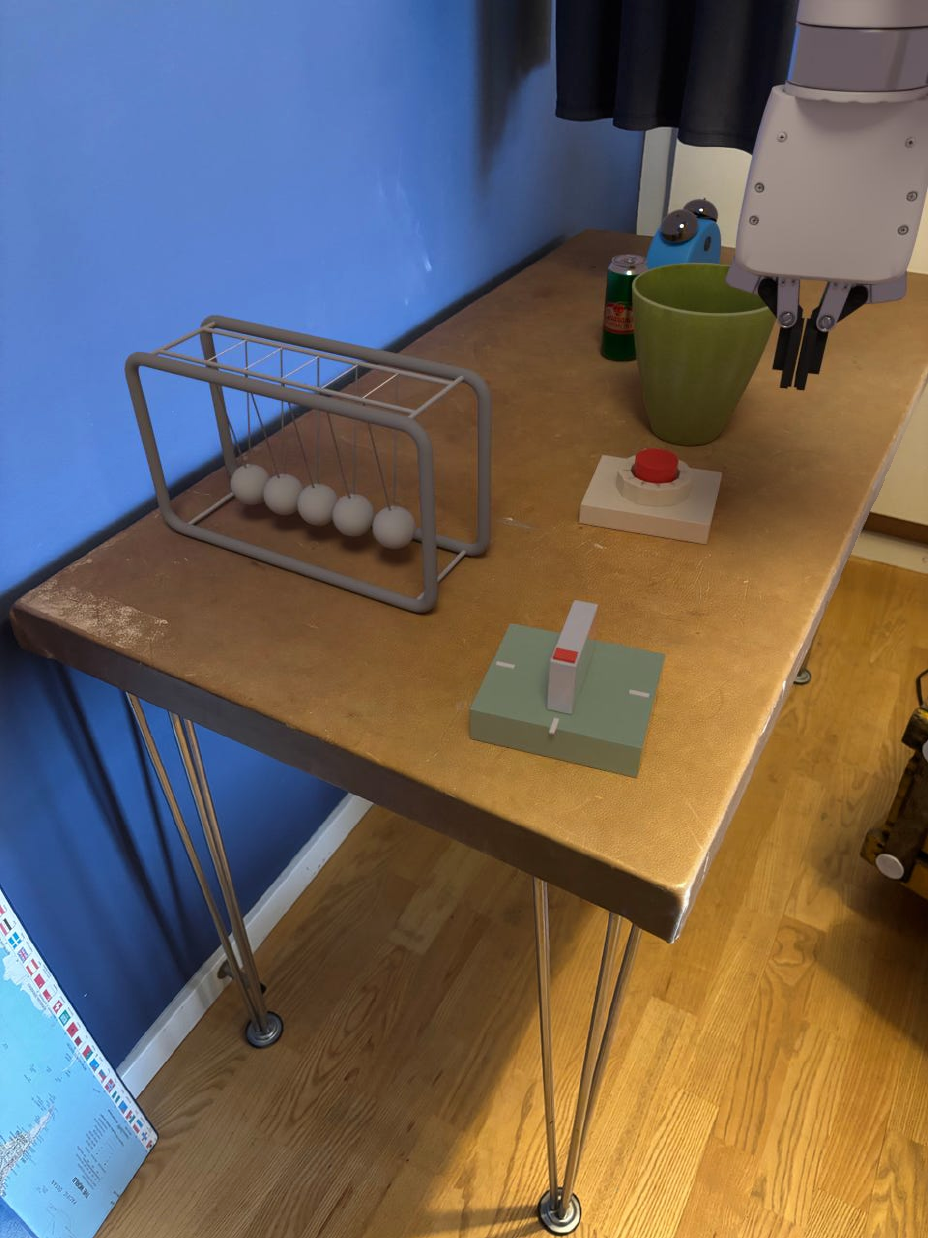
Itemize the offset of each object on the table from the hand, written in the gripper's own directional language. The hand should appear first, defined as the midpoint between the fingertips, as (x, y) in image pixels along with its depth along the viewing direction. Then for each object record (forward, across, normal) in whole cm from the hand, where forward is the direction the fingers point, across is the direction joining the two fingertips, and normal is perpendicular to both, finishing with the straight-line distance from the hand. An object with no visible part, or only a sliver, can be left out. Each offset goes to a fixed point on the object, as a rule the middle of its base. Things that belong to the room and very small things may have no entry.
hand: (793, 380), depth 61 cm
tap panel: (+21, +11, +13) cm, 28 cm away
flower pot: (+21, +9, -34) cm, 41 cm away
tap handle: (+18, +11, +13) cm, 25 cm away
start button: (+18, +10, -17) cm, 26 cm away
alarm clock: (+21, +16, -68) cm, 72 cm away
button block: (+21, +10, -17) cm, 29 cm away
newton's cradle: (+21, +38, -1) cm, 43 cm away
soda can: (+21, +20, -53) cm, 60 cm away
